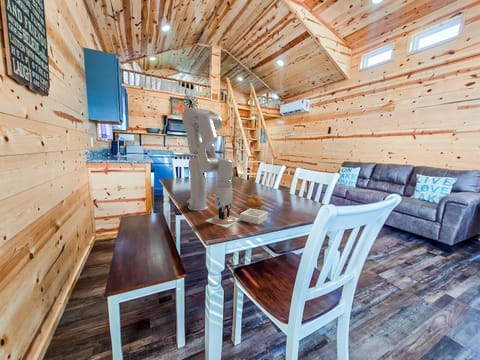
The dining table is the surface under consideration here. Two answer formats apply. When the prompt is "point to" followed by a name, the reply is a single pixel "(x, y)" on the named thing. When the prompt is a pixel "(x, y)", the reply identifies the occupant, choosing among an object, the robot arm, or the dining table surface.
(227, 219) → the lid
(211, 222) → the mat
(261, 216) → the dish
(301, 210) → the dining table surface
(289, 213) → the dining table surface
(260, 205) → the cheeseburger
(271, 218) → the dining table surface
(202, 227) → the dining table surface
